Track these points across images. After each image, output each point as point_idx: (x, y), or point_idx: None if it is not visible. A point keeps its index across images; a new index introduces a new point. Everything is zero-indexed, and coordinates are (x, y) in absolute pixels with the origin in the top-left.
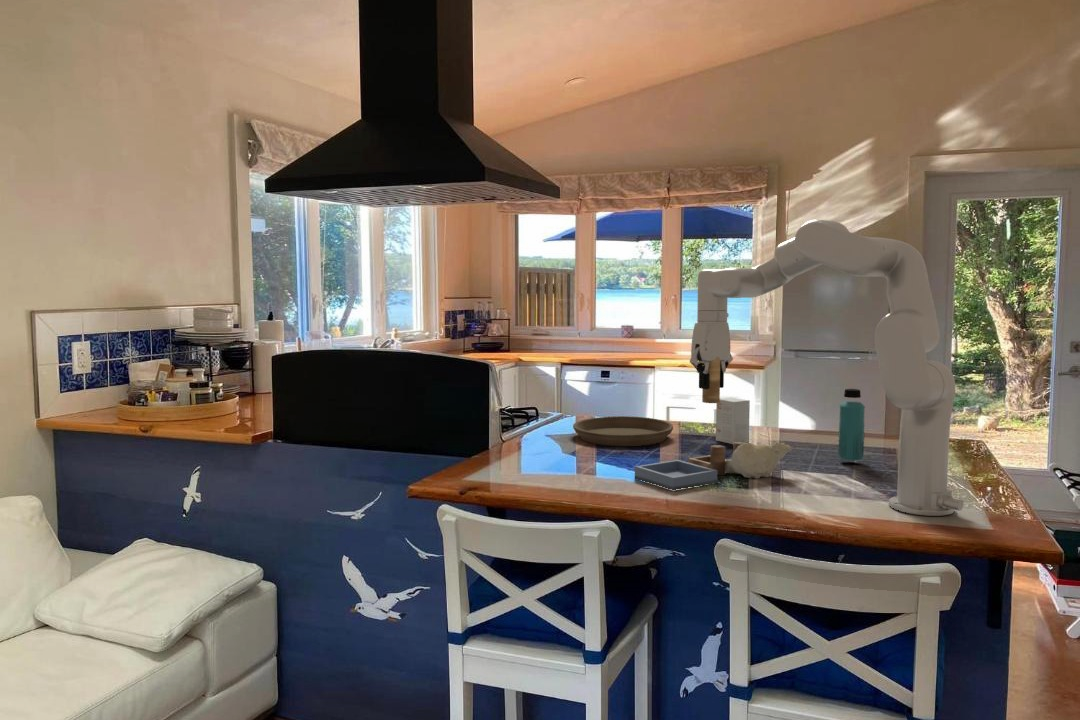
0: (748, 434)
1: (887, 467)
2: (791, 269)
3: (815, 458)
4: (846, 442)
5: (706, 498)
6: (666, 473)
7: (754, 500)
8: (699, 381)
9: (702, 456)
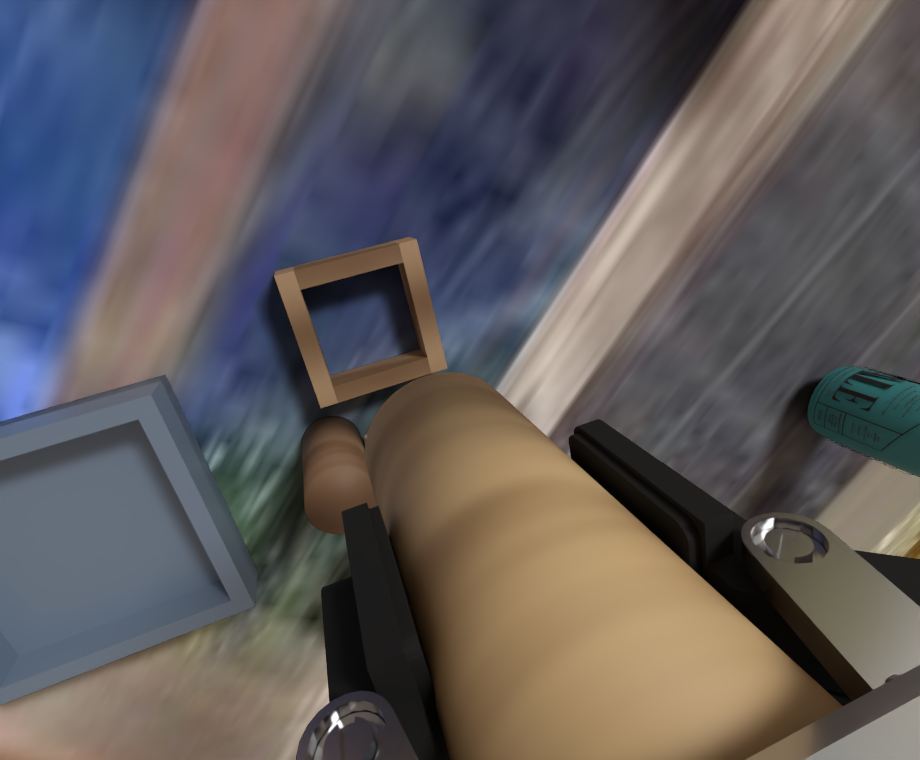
0: None
1: (846, 461)
2: None
3: (795, 302)
4: (863, 442)
5: (125, 733)
6: (58, 465)
7: (278, 747)
8: (325, 621)
9: (366, 256)
